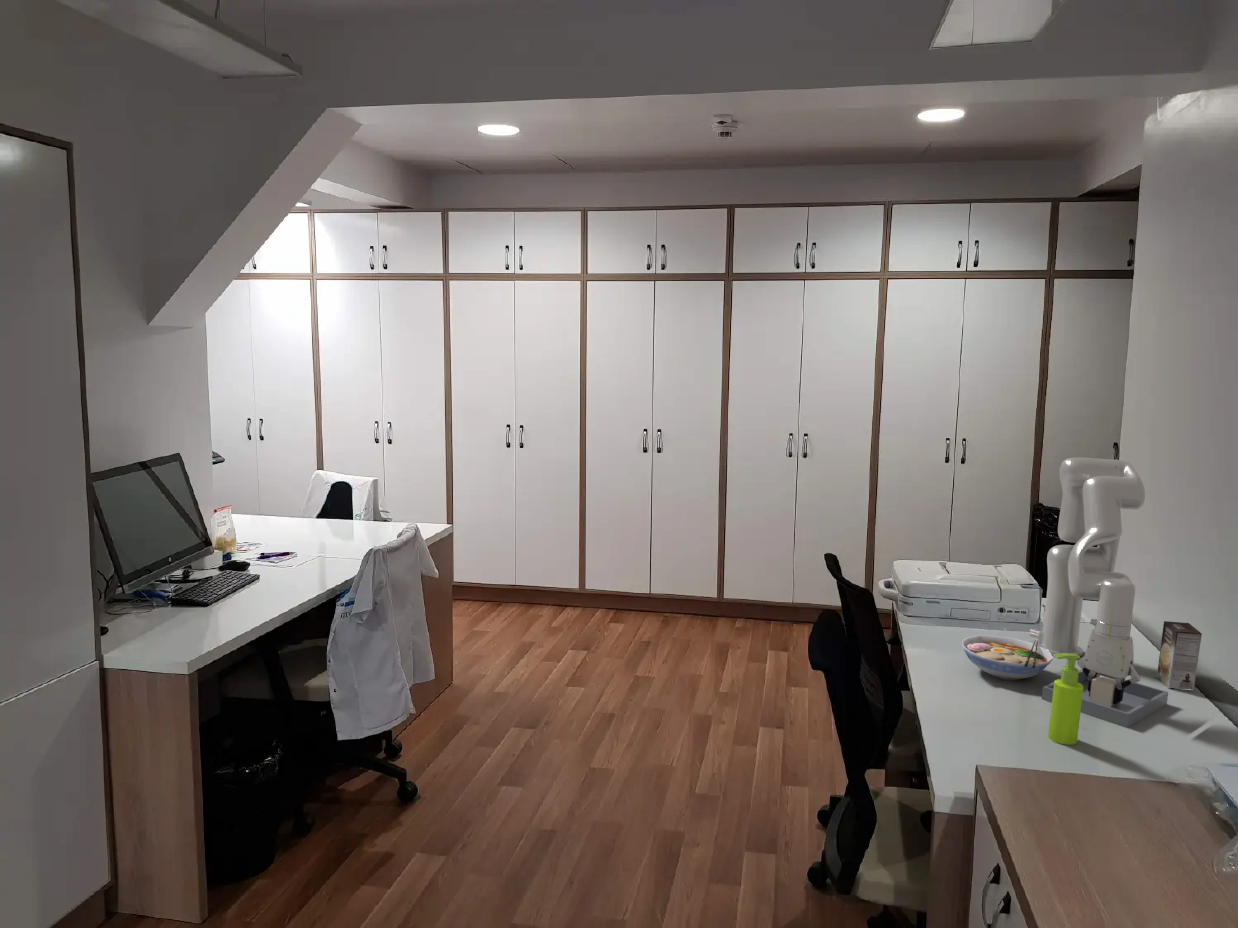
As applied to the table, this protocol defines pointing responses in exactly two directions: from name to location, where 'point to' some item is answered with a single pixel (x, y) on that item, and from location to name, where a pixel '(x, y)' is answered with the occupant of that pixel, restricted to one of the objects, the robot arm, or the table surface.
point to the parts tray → (1125, 713)
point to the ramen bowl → (1006, 656)
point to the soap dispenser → (1066, 703)
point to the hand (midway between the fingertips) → (1104, 698)
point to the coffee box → (1179, 655)
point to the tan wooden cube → (1102, 690)
